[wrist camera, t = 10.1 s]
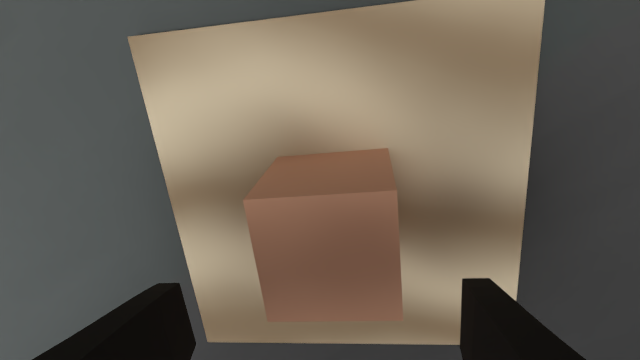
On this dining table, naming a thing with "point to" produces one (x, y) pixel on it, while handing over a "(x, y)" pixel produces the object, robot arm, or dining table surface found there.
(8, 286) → the dining table surface
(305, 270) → the terracotta cube
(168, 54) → the beige flat square sheet
